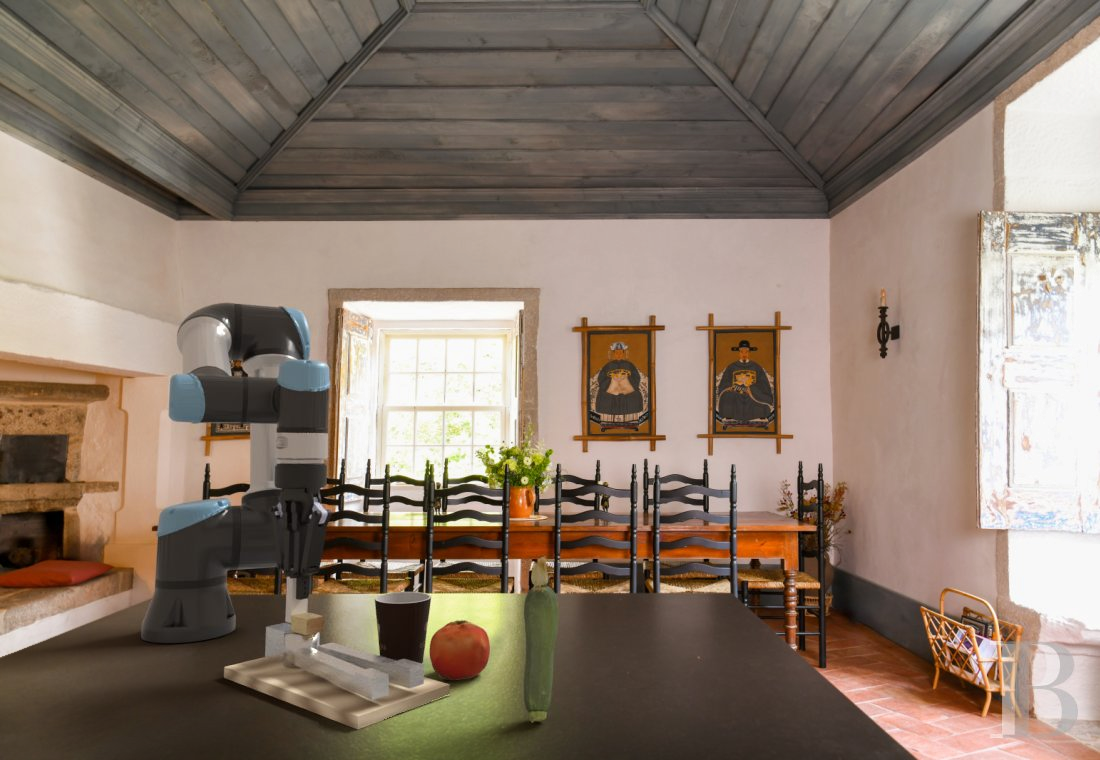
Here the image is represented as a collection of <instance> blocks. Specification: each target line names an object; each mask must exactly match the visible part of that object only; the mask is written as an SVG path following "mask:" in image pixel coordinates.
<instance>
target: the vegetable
mask: <svg viewBox="0 0 1100 760" xmlns="http://www.w3.org/2000/svg"><path fill="white" fill-rule="evenodd" d="M547 561H548V559H547V556H545V555H544V556H542V557H540V558H538V562H537V563H536V564H535V565H534V567H533V569H532V571H531V575H530V578H531V583H532V584H533V587H532V588H530V589H529V590H528V591H527V594H526V596H525V600H524V605H523V617H524V618H523V619H524V628H525V630H524V631H525V665H524V672H523V673H524V674H523V701H524V706H525V708H526V711H527V712H528V716H529V717H528V718H529V720H530V722H531V724H533V723H535V722H541V721H543V720H546V719H547V714H548V712H547V711H548V709H549V707H550V704H551V702H552V700H551V699H552V689H553V688H552V687H553V680H554V659H555V658H554V657H555V644H556V639H557V634H558V630H559V617H560V616H559V615H560V611H559V602H558V598H557V595H556V594H557V593H555V591H554V589H552V588H551V587H550V586H548V585H547V584H548V582H549V575H548V567H547V565H548V563H547Z"/></svg>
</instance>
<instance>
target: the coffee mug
mask: <svg viewBox="0 0 1100 760" xmlns="http://www.w3.org/2000/svg"><path fill="white" fill-rule="evenodd" d="M431 603H432V595H430V594H429V593H426V592H418V591H399V592H398V591H397V592H388V593H383V594H380V595H377V596H375V597H374V605H375V614H376V615H375V618H376V627H377V629H376V630H377V639H378V640H377V641H378V649H379V656H382V657H386V658H390V659H393V660H397V661H398V660H401V659H407V660H410V661H414V662H418V663H421V664H422V663H423V664H424V657H425V647H426V642H427V633H428V625H429V617H430V610H431Z"/></svg>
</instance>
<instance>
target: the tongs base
mask: <svg viewBox="0 0 1100 760" xmlns="http://www.w3.org/2000/svg"><path fill="white" fill-rule="evenodd" d="M265 629H266V630H265V652H264V657H267V658H270V659H273V660H276V661H279V662H282V663H283V666H284V667H287V668H299V667H297V666H295V651H296V650H301V649H306V648H313V649H316V650H318V651H321V652H323V653H326V654H328V655H331V656H333V657H336V658H338V659H341V660H343V661H346V662H348V663H351V664H353V665H356V666H358V667H361V668H363V669H368V668H373V669H376V670H378V671H381V672H384V673H386V674H389V682H390V683H393V684H396V685H400V686H403V687H406V688H409V689H410V688H413V687H416V686H419V685H422V684H424V677H425V664H424V663H423V664H421V663H418V662H414V661H410V660H407V659H401V660H398V661H397V660H393V659H390V658H386V657H382V656H380V654H379V655H378V654H375V653H372V652H368V651H364V650H361V649H358V648H357V649H356V648H355V647H349V646H346V645H342V644H339V643H336V642H329V643H328V642H327V643H325V644H320V635H321V634H320V633H321V632H319V633H314V634H310V635H304V634H300V633H297V632H293V631H291V623H289V622H281V623H278V624H276V623H275V624H273V625H268V626H265Z"/></svg>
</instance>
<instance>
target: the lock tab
mask: <svg viewBox="0 0 1100 760" xmlns="http://www.w3.org/2000/svg"><path fill="white" fill-rule="evenodd" d="M290 624H291V631H293V632H297V633H300V634H304V635H310V634H314V633H319V632H320V633H322V632H324V616H323V615H320V614H316V613H312V612H308V611H307V612H306V613H301V614H296V615H291V623H290Z"/></svg>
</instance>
